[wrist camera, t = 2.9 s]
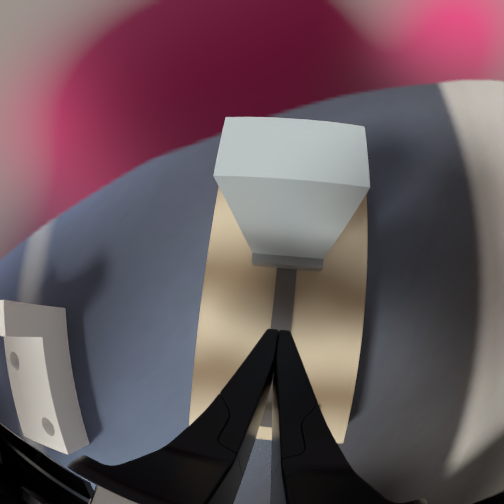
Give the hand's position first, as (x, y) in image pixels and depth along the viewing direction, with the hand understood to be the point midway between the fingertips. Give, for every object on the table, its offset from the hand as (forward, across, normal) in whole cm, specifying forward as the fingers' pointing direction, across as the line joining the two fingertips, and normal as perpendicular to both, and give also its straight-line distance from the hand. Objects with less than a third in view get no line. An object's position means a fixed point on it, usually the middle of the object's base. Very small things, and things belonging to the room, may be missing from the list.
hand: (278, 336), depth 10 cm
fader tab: (+8, 0, +1) cm, 8 cm away
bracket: (0, +20, +12) cm, 24 cm away
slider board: (+7, 0, +4) cm, 9 cm away
